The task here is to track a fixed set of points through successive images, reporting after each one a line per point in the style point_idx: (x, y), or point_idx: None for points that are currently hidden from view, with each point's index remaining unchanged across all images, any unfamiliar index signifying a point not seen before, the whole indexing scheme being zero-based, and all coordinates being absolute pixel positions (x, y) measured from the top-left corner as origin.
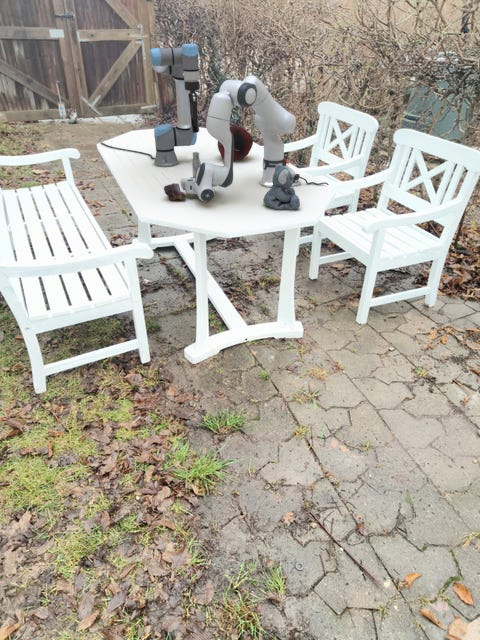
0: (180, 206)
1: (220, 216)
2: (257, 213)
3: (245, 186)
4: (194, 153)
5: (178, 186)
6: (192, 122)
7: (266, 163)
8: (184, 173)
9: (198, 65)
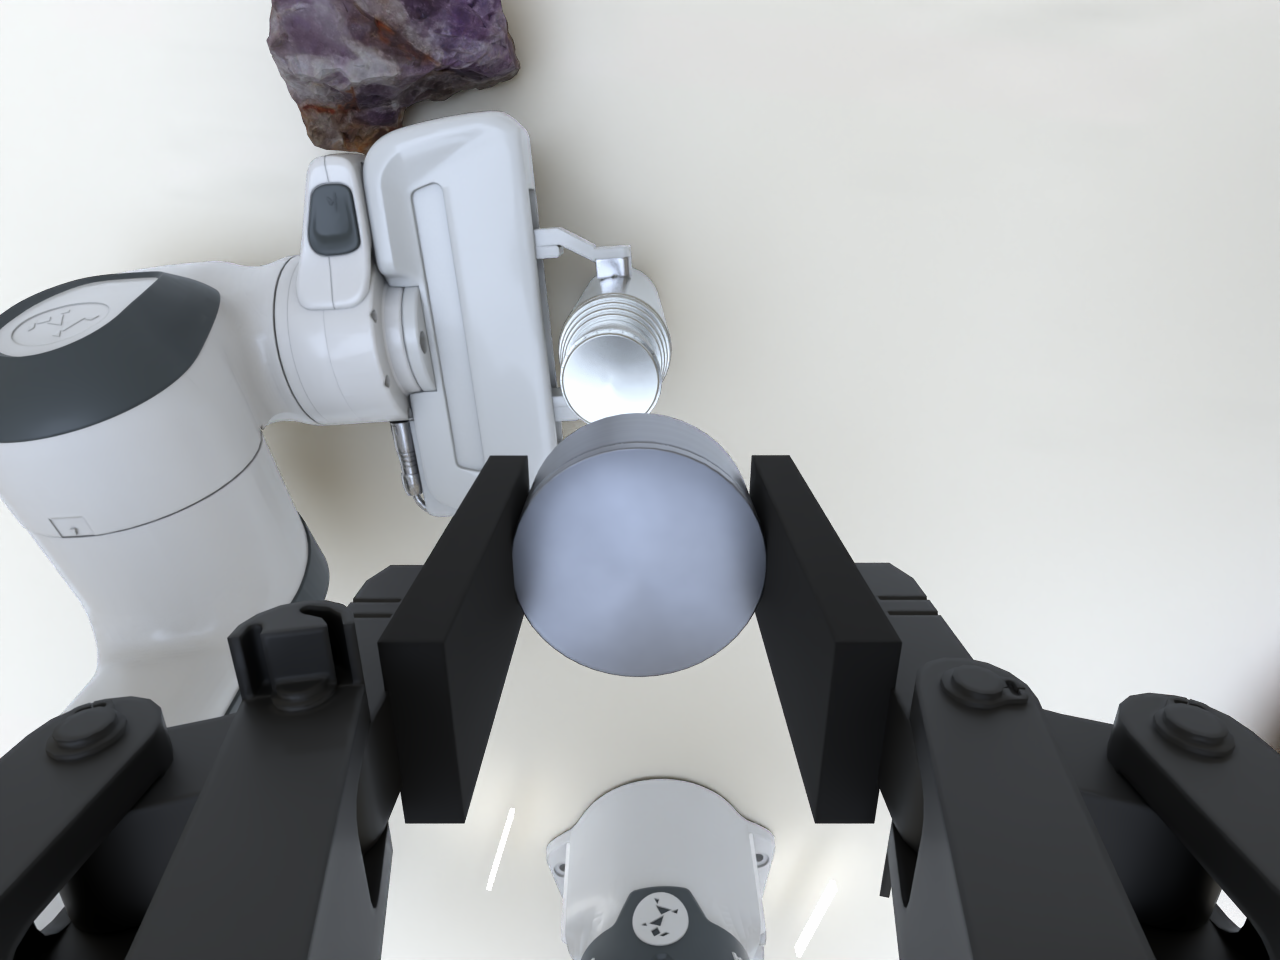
0: (207, 89)
1: None
2: (73, 649)
3: (642, 678)
4: (573, 359)
5: (284, 68)
6: (420, 580)
7: (615, 949)
8: (1194, 229)
9: None
